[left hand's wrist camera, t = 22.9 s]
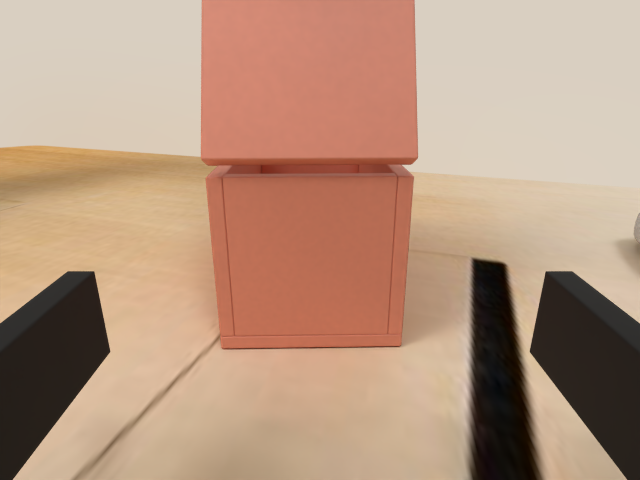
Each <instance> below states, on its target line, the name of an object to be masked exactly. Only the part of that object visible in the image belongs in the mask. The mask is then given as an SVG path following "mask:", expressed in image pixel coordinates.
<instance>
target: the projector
mask: <svg viewBox="0 0 640 480" xmlns="http://www.w3.org/2000/svg"><path fill="white" fill-rule="evenodd" d="M634 237H635V239H636V240H637V241H638V242H639V243H640V213H639V215H638V217H637V219H636V223H635V227H634Z"/></svg>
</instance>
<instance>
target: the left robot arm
mask: <svg viewBox="0 0 640 480" xmlns="http://www.w3.org/2000/svg"><path fill="white" fill-rule="evenodd" d="M109 353H110V348H109V343H108V338H107V333H106V328H105V323H104V318H103V313H102V308H101V303H100V298H99V293H98V288H97V283H96V278H95V273H94V271H68V272H66V273H65V274H64V275H63V276H61V277H60V278H59V279H57V280H56V281H55V282H54V283H52V284H51V285H50V286H48V287H47V288H46V289H44V290H43V291H42V292H41V293H39V294H38V295H37V296H35V297H34V298H33V299H31V300H30V301H29V302H28V303H26V304H25V305H24V306H22V307H21V308H20V309H18V310H17V311H16V312H15V313H13V314H12V315H11V316H9V317H8V318H7V319H6V320H4V321H3V322H2V323H0V480H13V478H14V477H15V476H16V475H17V473H18V472H19V471H20V469H21V468H22V467H23V465H24V464H25V463H26V461H27V460H28V459H29V458H30V456H31V455H32V454H33V452H34V451H35V450H36V448H37V447H38V446H39V444H40V443H41V442H42V440H43V439H44V438H45V437H46V435H47V434H48V433H49V431H50V430H51V429H52V427H53V426H54V425H55V423H56V422H57V421H58V420H59V418H60V417H61V416H62V414H63V413H64V412H65V410H66V409H67V408H68V406H69V405H70V404H71V403H72V401H73V400H74V399H75V397H76V396H77V395H78V393H79V392H80V391H81V389H82V388H83V387H84V385H85V384H86V383H87V382H88V380H89V379H90V378H91V376H92V375H93V374H94V372H95V371H96V370H97V368H98V367H99V366H100V365H101V363H102V362H103V361H104V359H105V358H106V357H107V355H108V354H109ZM530 353H531V354H532V355H533V357H534V358H535V359H536V361H537V362H538V363H539V365H540V366H541V367H542V368H543V370H544V371H545V372H546V374H547V375H548V376H549V378H550V379H551V380H552V382H553V383H554V384H555V385H556V387H557V388H558V389H559V391H560V392H561V393H562V395H563V396H564V397H565V399H566V400H567V401H568V403H569V404H570V405H571V406H572V408H573V409H574V410H575V412H576V413H577V414H578V416H579V417H580V418H581V420H582V421H583V422H584V423H585V425H586V426H587V427H588V429H589V430H590V431H591V433H592V434H593V435H594V437H595V438H596V439H597V440H598V442H599V443H600V444H601V446H602V447H603V448H604V450H605V451H606V452H607V454H608V455H609V456H610V458H611V459H612V460H613V461H614V463H615V464H616V465H617V467H618V468H619V469H620V471H621V472H622V473H623V475H624V476H625V477H626V478H627V480H640V323H638V322H637V321H636V320H634V319H633V318H632V317H631V316H629V315H628V314H627V313H625V312H624V311H623V310H622V309H620V308H619V307H618V306H616V305H615V304H614V303H612V302H611V301H610V300H609V299H607V298H606V297H605V296H603V295H602V294H601V293H599V292H598V291H597V290H596V289H594V288H593V287H592V286H590V285H589V284H588V283H586V282H585V281H584V280H583V279H581V278H580V277H579V276H577V275H576V274H575V273H574V272H572V271H546V273H545V278H544V283H543V288H542V293H541V298H540V303H539V308H538V313H537V318H536V323H535V328H534V333H533V338H532V343H531V348H530Z"/></svg>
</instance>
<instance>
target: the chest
mask: <svg viewBox="0 0 640 480" xmlns="http://www.w3.org/2000/svg"><path fill="white" fill-rule="evenodd" d="M413 181H414V176H413V175H412V174H411V173H410V172H408V171H407V170H406V169H405V168H404V167H403V166H402V165H223V166H217V167H216V168H215V169H214V170H213V171H212V172H211V173H210V174H209V175H208V176H207V177H206V188H207V198H208V209H209V220H210V230H211V241H212V252H213V262H214V273H215V283H216V294H217V305H218V315H219V326H220V335H221V347H222V348H289V347H362V346H401V339H402V326H403V313H404V300H405V286H406V273H407V260H408V247H409V234H410V221H411V207H412V194H413Z"/></svg>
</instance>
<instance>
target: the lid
mask: <svg viewBox="0 0 640 480" xmlns="http://www.w3.org/2000/svg"><path fill="white" fill-rule="evenodd" d="M417 158H418V135H417V92H416V49H415V5H414V0H202V63H201V160H202V161H203V162H204V163H205V164H207V165H208V166H223V165H411V164H413V163H414V162H415V161H416V160H417Z"/></svg>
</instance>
